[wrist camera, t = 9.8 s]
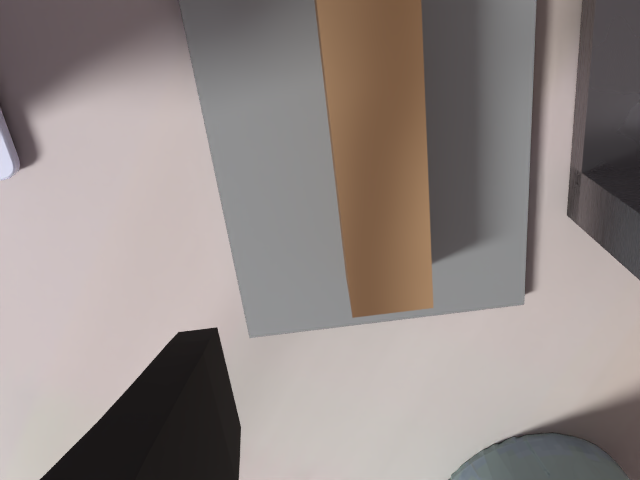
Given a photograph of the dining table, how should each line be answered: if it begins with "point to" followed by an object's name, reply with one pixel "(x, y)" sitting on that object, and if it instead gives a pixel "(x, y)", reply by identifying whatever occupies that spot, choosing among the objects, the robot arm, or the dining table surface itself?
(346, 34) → the walnut bar
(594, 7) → the dark grey cradle
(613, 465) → the teal tumbler
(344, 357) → the dining table surface
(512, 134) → the grey mat
